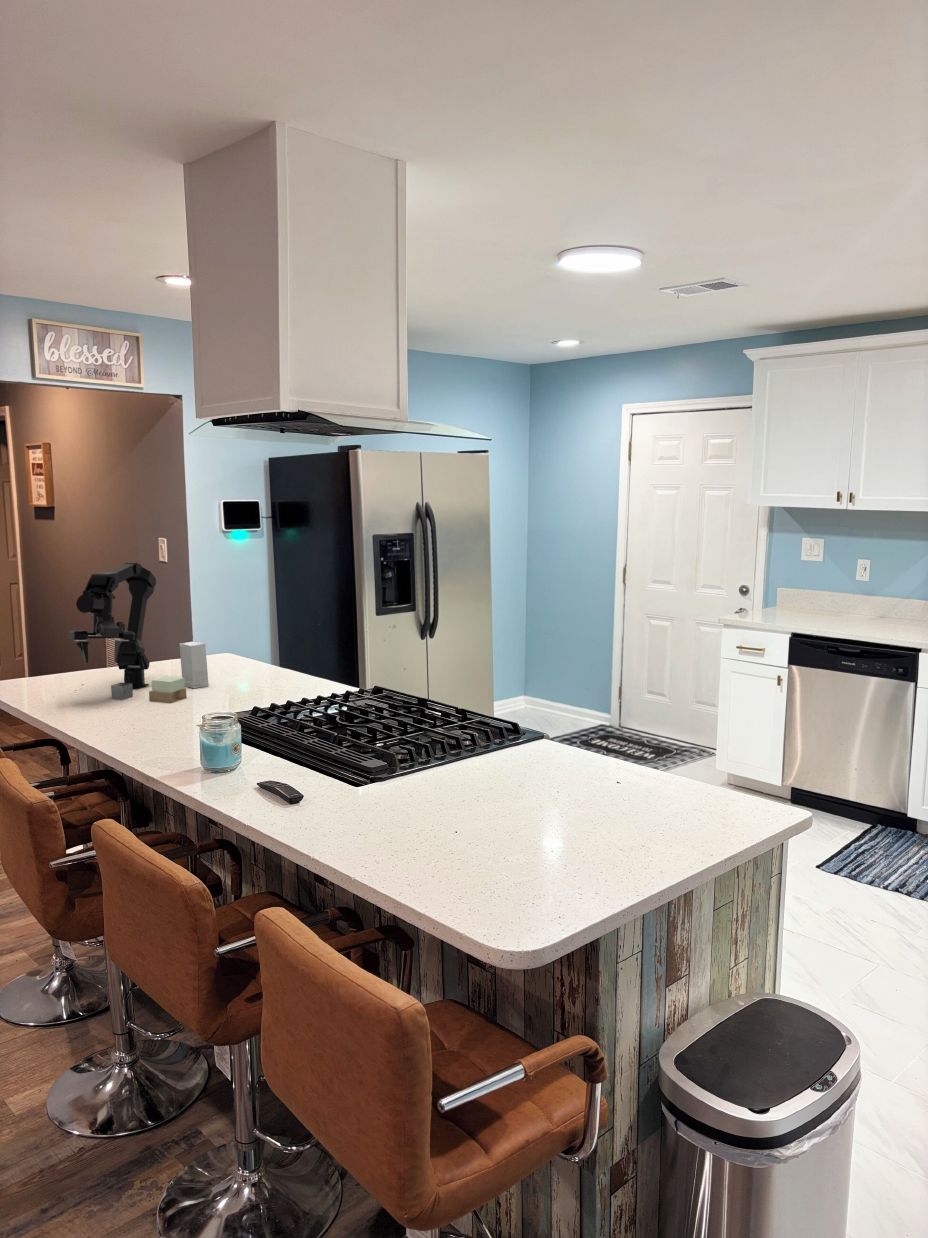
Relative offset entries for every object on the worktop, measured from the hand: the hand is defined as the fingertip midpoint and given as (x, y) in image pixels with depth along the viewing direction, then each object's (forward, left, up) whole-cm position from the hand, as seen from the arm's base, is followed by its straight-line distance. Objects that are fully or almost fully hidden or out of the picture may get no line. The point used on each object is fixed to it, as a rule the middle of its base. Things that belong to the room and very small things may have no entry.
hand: (101, 663), depth 282 cm
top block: (-8, +18, -9) cm, 22 cm away
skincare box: (-28, +14, -12) cm, 34 cm away
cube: (-5, +3, -12) cm, 13 cm away
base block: (-8, +18, -12) cm, 23 cm away
